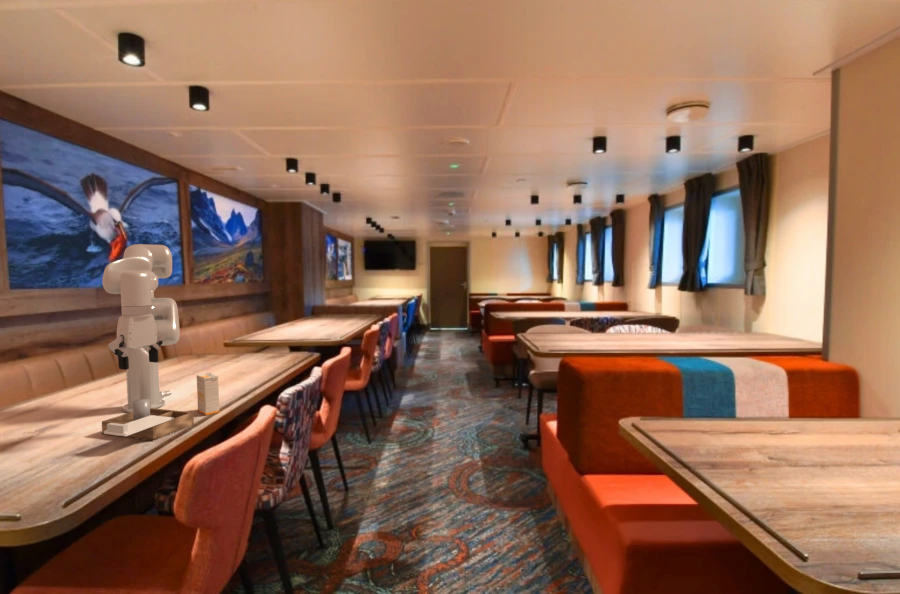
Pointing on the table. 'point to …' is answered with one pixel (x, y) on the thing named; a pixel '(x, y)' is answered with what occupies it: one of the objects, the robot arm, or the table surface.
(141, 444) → the table surface
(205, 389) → the supplement box
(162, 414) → the housing
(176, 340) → the robot arm
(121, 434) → the lid
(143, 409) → the grey cylinder
